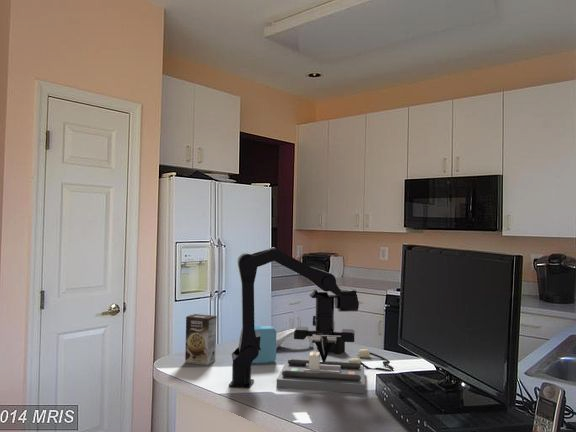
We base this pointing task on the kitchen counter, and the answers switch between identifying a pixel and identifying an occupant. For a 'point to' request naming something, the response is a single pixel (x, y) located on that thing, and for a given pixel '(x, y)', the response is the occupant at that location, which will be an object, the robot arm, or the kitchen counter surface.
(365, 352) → the cable
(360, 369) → the panel
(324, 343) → the digital camera
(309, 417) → the kitchen counter surface
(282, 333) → the spoon rest
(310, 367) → the knob
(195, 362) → the coffee box
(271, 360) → the data package
